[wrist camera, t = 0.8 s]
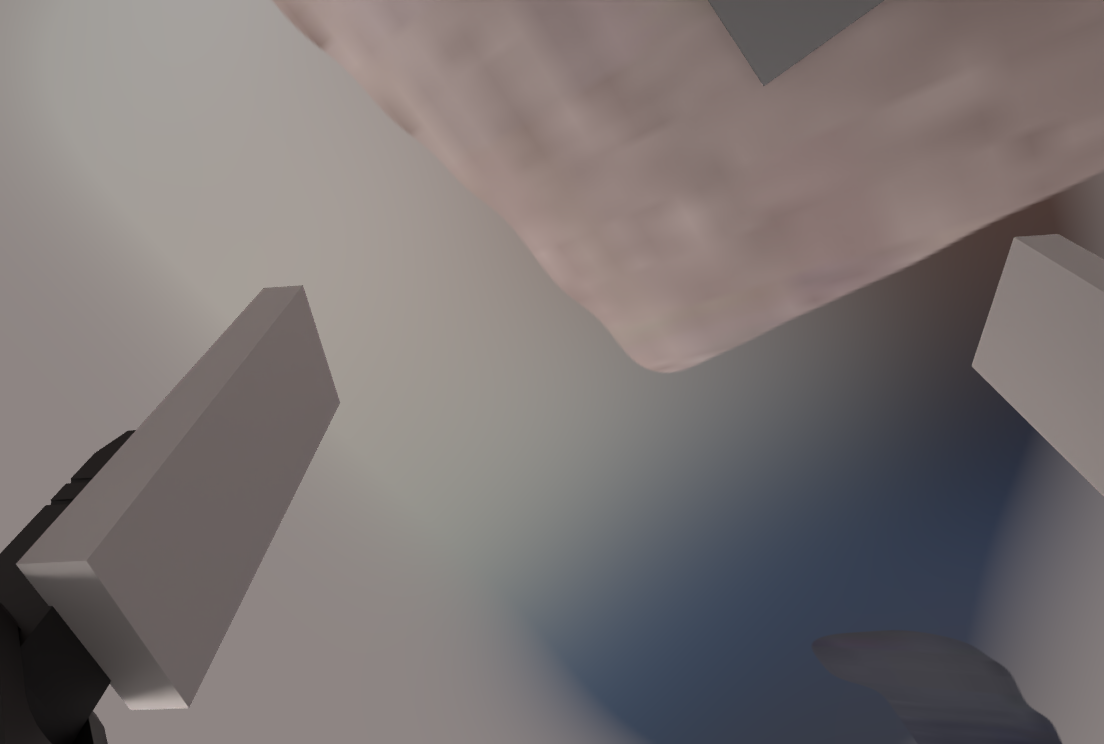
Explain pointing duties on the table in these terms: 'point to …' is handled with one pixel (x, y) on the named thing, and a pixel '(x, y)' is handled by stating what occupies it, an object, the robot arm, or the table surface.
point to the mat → (785, 28)
